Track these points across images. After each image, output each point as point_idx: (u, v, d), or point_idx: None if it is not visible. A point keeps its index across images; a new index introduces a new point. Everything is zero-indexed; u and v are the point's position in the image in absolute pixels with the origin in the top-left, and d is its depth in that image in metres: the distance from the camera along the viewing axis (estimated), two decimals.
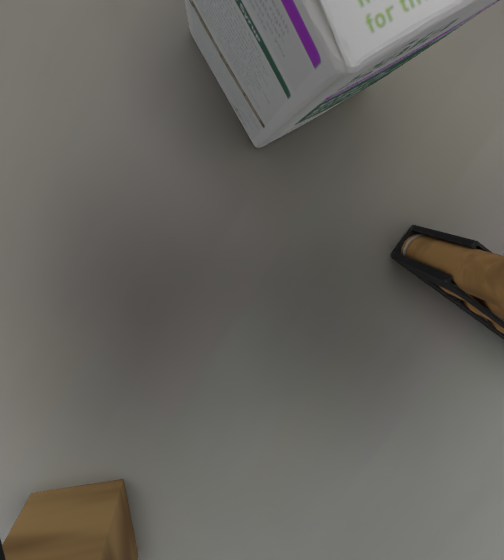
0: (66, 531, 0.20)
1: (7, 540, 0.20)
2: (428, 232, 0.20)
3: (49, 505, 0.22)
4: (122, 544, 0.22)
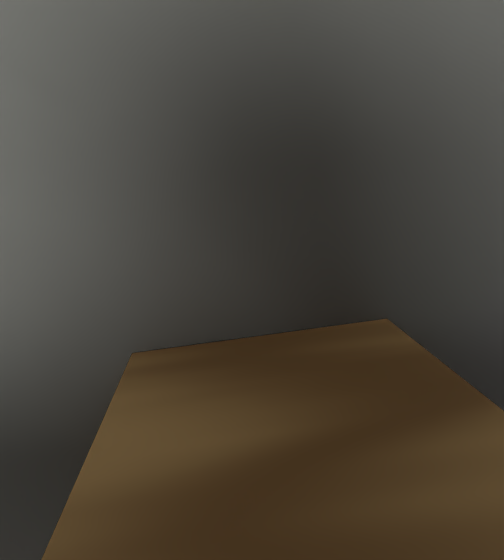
0: None
1: None
2: None
3: None
4: (258, 392, 0.06)
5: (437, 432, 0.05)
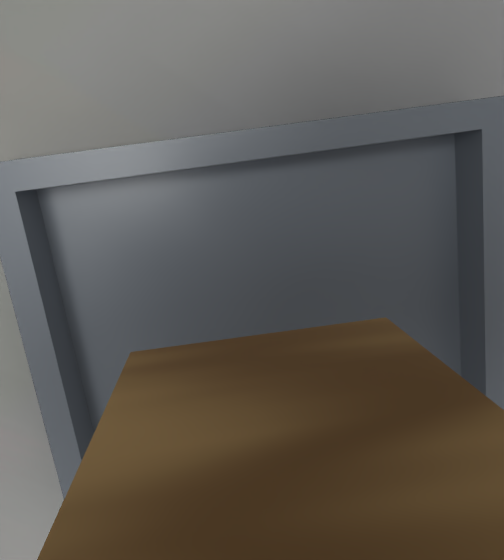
0: None
1: None
2: None
3: None
4: (256, 390, 0.06)
5: (435, 430, 0.05)
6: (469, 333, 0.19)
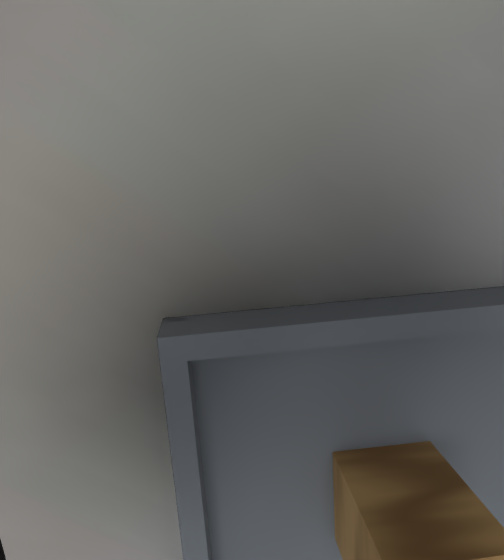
0: (355, 542, 0.18)
1: None
2: None
3: (341, 534, 0.20)
4: (393, 476, 0.19)
5: (452, 495, 0.18)
6: None
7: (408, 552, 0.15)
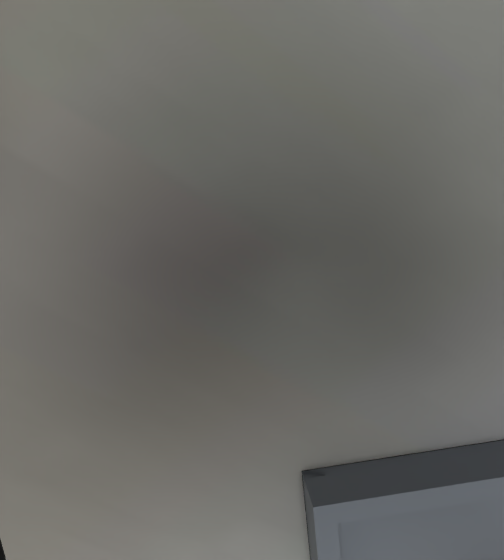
0: None
1: None
2: None
3: None
4: None
5: None
6: None
7: None
